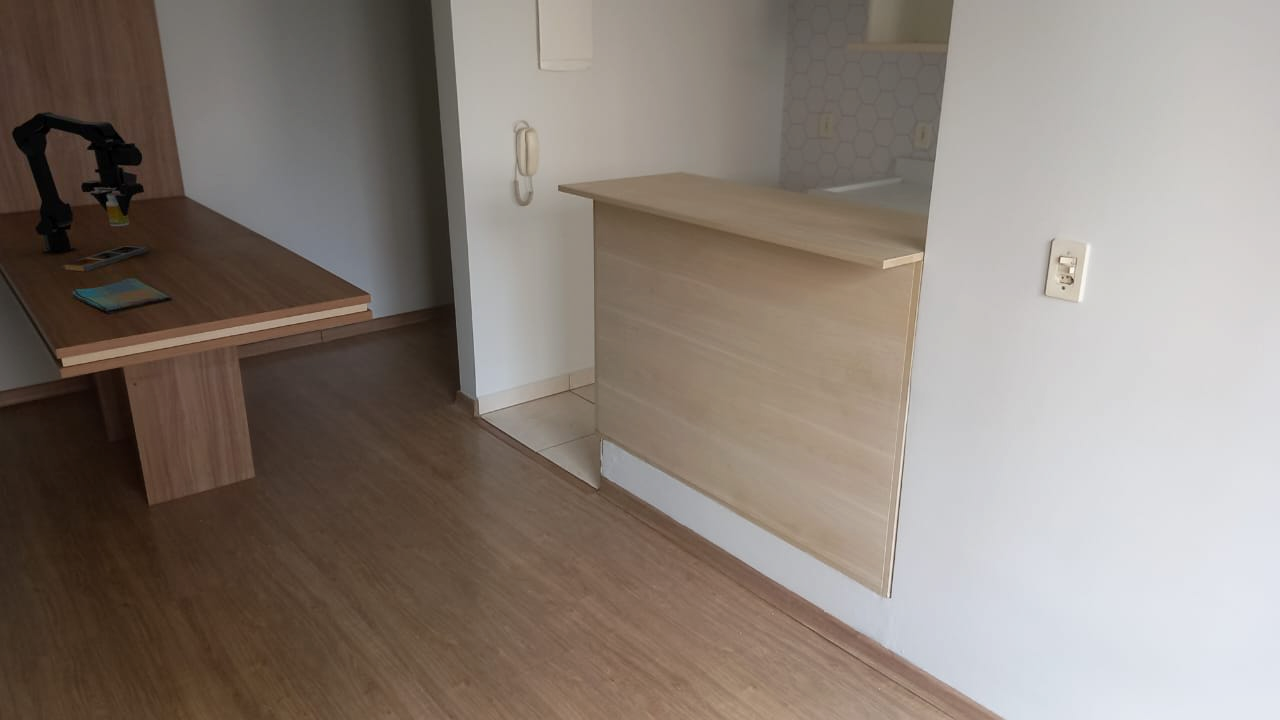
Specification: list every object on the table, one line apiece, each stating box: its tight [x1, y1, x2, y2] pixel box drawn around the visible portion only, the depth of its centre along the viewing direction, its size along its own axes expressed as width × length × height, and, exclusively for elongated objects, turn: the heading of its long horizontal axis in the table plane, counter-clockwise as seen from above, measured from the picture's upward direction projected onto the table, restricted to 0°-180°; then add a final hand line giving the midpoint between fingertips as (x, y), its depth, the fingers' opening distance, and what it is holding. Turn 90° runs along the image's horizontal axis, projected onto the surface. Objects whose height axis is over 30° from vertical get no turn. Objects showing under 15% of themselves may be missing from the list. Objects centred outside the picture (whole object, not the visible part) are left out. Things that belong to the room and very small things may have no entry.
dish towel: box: [71, 278, 173, 314], centre depth 245 cm, size 17×23×2 cm
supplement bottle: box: [106, 192, 130, 227], centre depth 283 cm, size 5×5×10 cm
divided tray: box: [61, 245, 149, 273], centre depth 281 cm, size 9×24×2 cm, turn 164°
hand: (118, 215), depth 283 cm, fingers closed on supplement bottle, 5 cm apart
